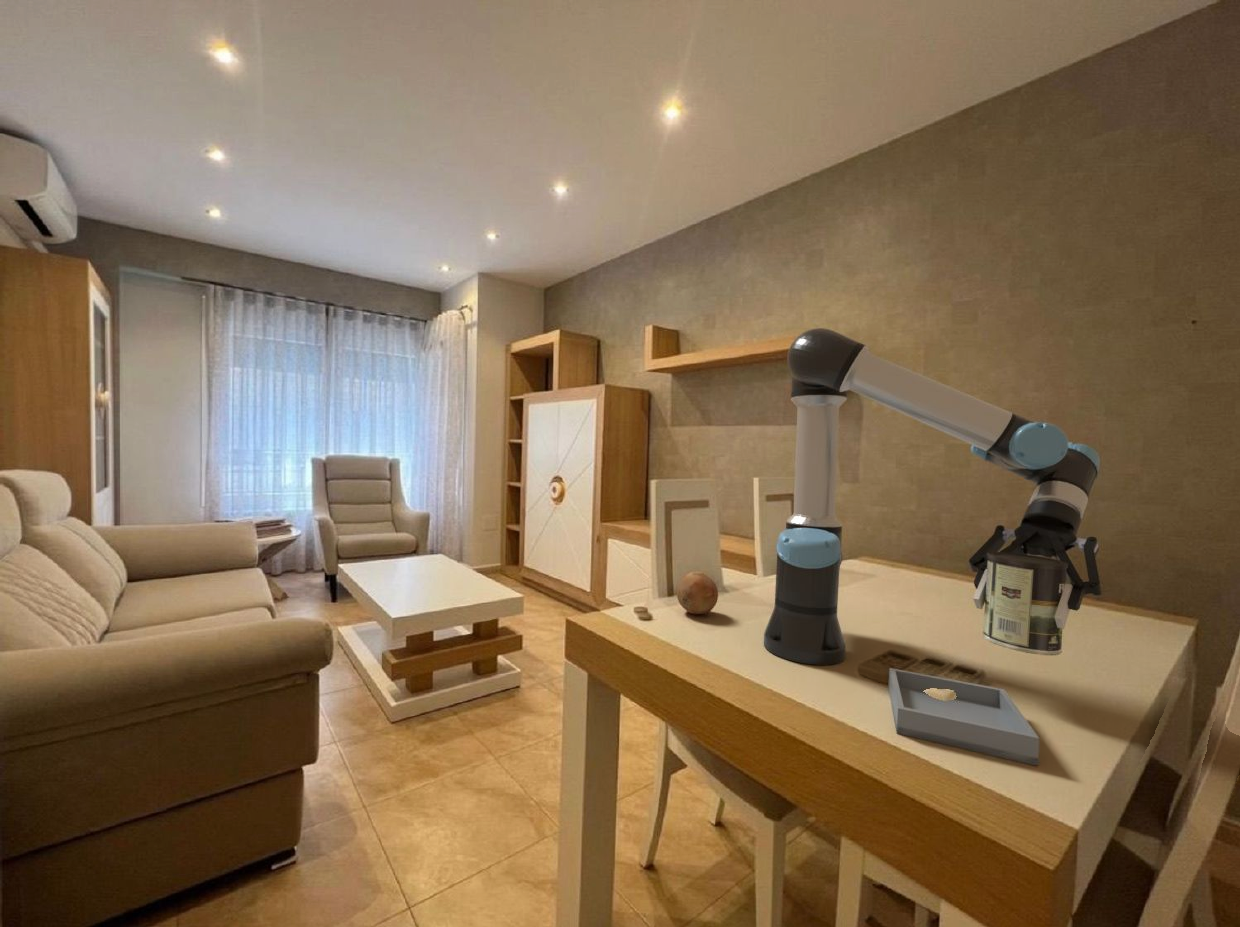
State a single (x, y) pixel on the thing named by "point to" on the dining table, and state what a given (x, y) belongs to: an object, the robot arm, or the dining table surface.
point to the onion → (697, 593)
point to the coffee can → (1024, 602)
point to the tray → (962, 716)
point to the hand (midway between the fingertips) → (1016, 613)
